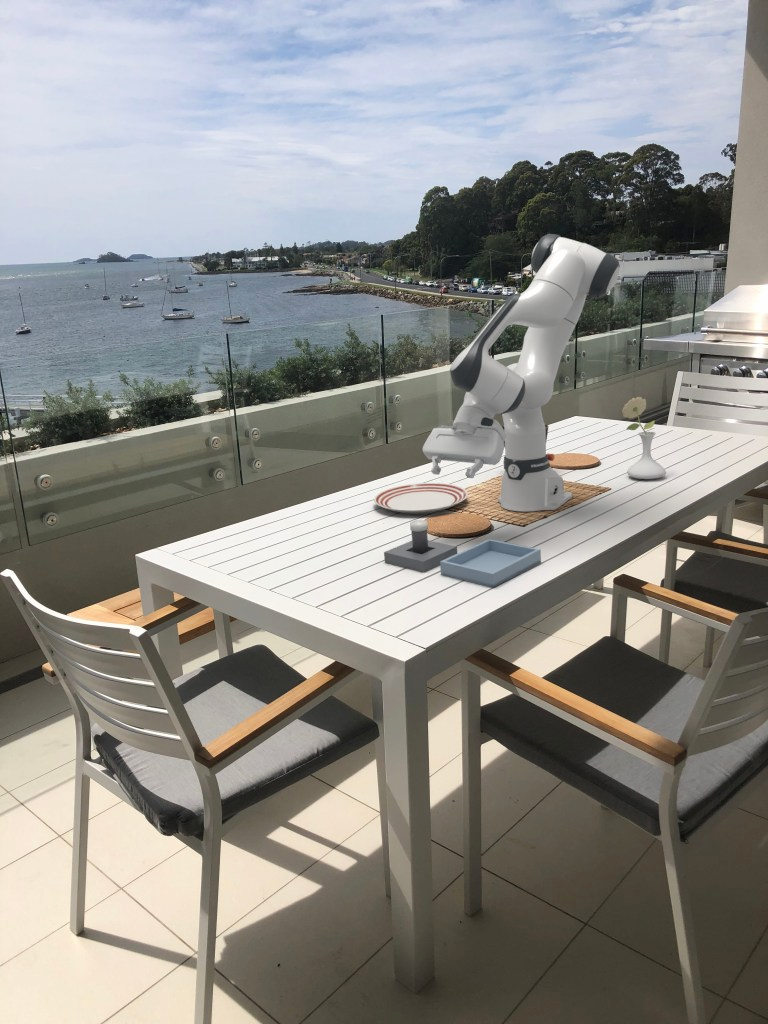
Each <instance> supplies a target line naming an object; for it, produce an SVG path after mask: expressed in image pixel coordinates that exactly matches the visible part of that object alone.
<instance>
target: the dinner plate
mask: <svg viewBox="0 0 768 1024" xmlns="http://www.w3.org/2000/svg"><path fill="white" fill-rule="evenodd" d="M468 496H469V492H468V490H466V489H465V488H464V487H461V486H459V485H456V484H451V483H443V482H441V483H440V482H421V483H420V482H419V483H411V484H405V485H404V484H403V485H398V486H394V487H391V488H387V489H385V490H383V491H381V492H379V493H377V494H376V495H375V496H374V498H373V501H374V504H376V506H378V507H381V508H382V509H386V510H390V511H394V512H398V513H400V514H401V513H402V514H411V515H413V514H415V515H416V514H429V513H437V512H441V511H444V510H446V509H449V508H452V507H455V506H456V505H459V504H460V503H462V502H464V501H465V500H466V499H467V498H468Z"/></svg>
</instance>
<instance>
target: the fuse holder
mask: <svg viewBox="0 0 768 1024" xmlns="http://www.w3.org/2000/svg"><path fill="white" fill-rule="evenodd" d="M383 554H384V563H387V564H390V565H394V566H397V567H402V568H406V569H408V570H409V569H410V570H414V571H418V572H421V573H426V572H429V571H430V570H433V569H434V568H436V567H440V561H442V560H445V559H447V558H449V557H451V556H453V555H455V554H458V546H456V545H452V544H447V543H443V542H437V541H433V540H429V539H428V552H426V553H424V554H418V553H414V552H413V546H412V540H410V541H408V542H405V543H402V544H401V545H398V546H396V547H393V548H391V549H389V550H386V551H383Z"/></svg>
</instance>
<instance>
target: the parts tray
mask: <svg viewBox="0 0 768 1024" xmlns="http://www.w3.org/2000/svg"><path fill="white" fill-rule="evenodd" d="M541 551H542V549H541V548H535V547H531V546H525V545H520V544H515V543H511V542H510V543H509V542H505V541H501V540H497V539H496V540H495V539H491V538H488V539H487V540H484V541H481V542H480V543H477V544H475V545H473V546H471V547H469V548H467V549H464V550H462V551H460V552H457V554H455V555H453V556H451V557H449V558H447V559H445V560H442V561H440V565H439V567H440V575H442V576H446V577H450V578H453V579H458V580H462V581H466V582H470V583H474V584H476V585H477V584H478V585H481V586H485V587H489V588H494V589H495V588H496V587H498V586H499V585H502V584H503V583H505V582H506V581H508V580H510V579H513V578H514V577H516V576H518V575H519V574H521V573H523V572H525V571H527V570H529V569H530V568H533V567H534V566H536V565H538V564H540V563H541V562H542V555H541V554H542V552H541Z"/></svg>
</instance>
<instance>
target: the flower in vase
mask: <svg viewBox="0 0 768 1024" xmlns="http://www.w3.org/2000/svg"><path fill="white" fill-rule="evenodd" d="M646 409H647V400H646V398H642V396H636V398H635V397H632V398H631V399H629V400H628V402H627V403H626V404H624V407H623V408H622V410H621V413H622V417H623V418H624V419H625V418H628V419H634V418H638V423H636V422H634V423H631V424H630V425H628V426H627V428H626V431H627V430H628V431H636V430H637V429H638V428H639V427H641V429H642V431H641V432H638V434H637V435H638V436H639V437H640V438H641V442H642V455H641V458H640V459H638V460H637V461H636V462H634V463H633V464H632V465H631V466H630V467H628V469H627V470H626V474H627V475H628V476H629V477H631V478H634V479H637V480H638V479H640V480H654V479H658V478H659V479H660V478H662V477H664V476H665V475H666V473H667V471H666V469H665V468H664V467H663V466H662V465H661V463H659V462H657V461H656V459H654V458H653V457H652V453H651V447H652V441H653V439H654V437H655V436H656V434H657V433H656V432H655V431H646V430H648V429H649V430H650V429H652V428H653V427H654V426H655V420H652V421H650V422H647V423H645V424H644V426H642V424H641V421H640V420H641V419H640V415H642V414H643V412H644V411H645V410H646Z"/></svg>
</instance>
